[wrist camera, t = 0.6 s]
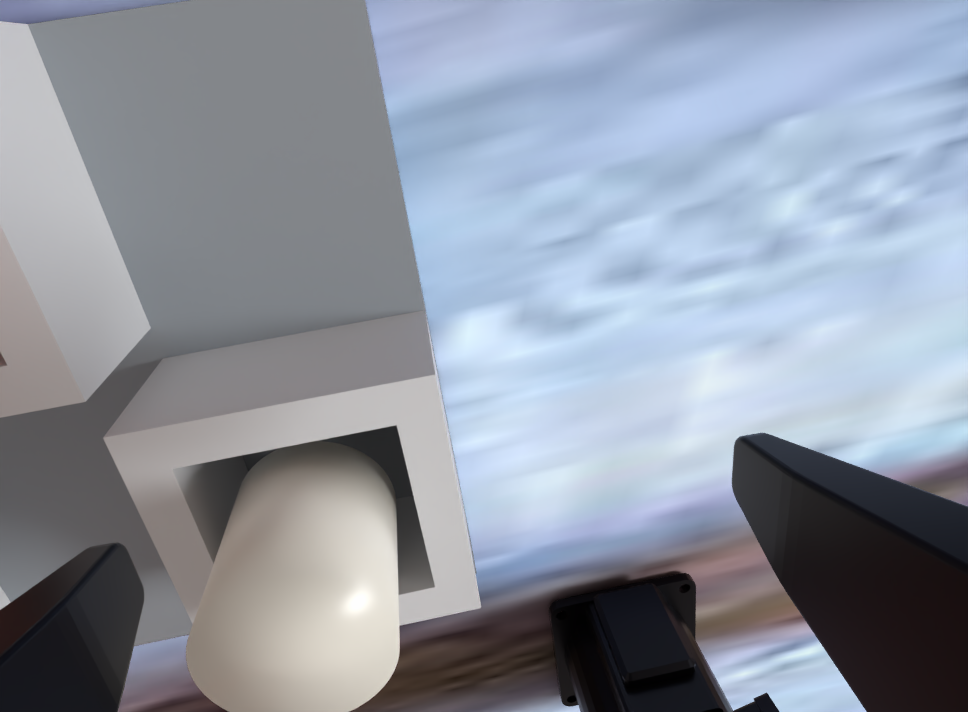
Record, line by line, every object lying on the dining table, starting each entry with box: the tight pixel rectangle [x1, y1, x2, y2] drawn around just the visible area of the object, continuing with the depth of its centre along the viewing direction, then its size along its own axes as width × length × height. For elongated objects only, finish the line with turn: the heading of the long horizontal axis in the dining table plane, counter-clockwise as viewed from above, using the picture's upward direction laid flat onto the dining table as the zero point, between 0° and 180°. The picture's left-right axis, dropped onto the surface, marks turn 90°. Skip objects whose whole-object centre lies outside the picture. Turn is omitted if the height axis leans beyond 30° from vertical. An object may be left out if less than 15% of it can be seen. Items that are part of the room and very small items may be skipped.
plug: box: [186, 441, 400, 712], centre depth 16 cm, size 4×4×5 cm
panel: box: [0, 0, 481, 646], centre depth 18 cm, size 20×24×6 cm
